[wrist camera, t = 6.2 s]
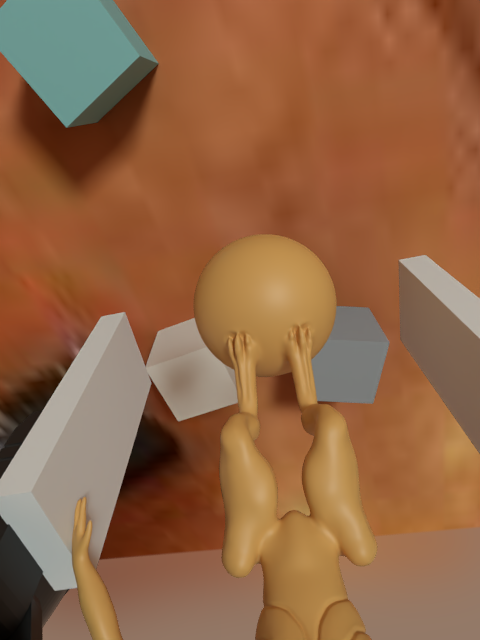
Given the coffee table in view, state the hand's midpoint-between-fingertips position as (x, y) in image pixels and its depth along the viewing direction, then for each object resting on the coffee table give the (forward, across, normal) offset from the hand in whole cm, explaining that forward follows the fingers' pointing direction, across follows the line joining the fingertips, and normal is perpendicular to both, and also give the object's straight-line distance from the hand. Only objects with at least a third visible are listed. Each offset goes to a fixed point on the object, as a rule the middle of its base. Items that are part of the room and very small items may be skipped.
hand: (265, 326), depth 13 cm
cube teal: (+16, -7, +10) cm, 21 cm away
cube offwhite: (+17, -6, -10) cm, 20 cm away
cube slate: (+16, +4, -11) cm, 20 cm away
